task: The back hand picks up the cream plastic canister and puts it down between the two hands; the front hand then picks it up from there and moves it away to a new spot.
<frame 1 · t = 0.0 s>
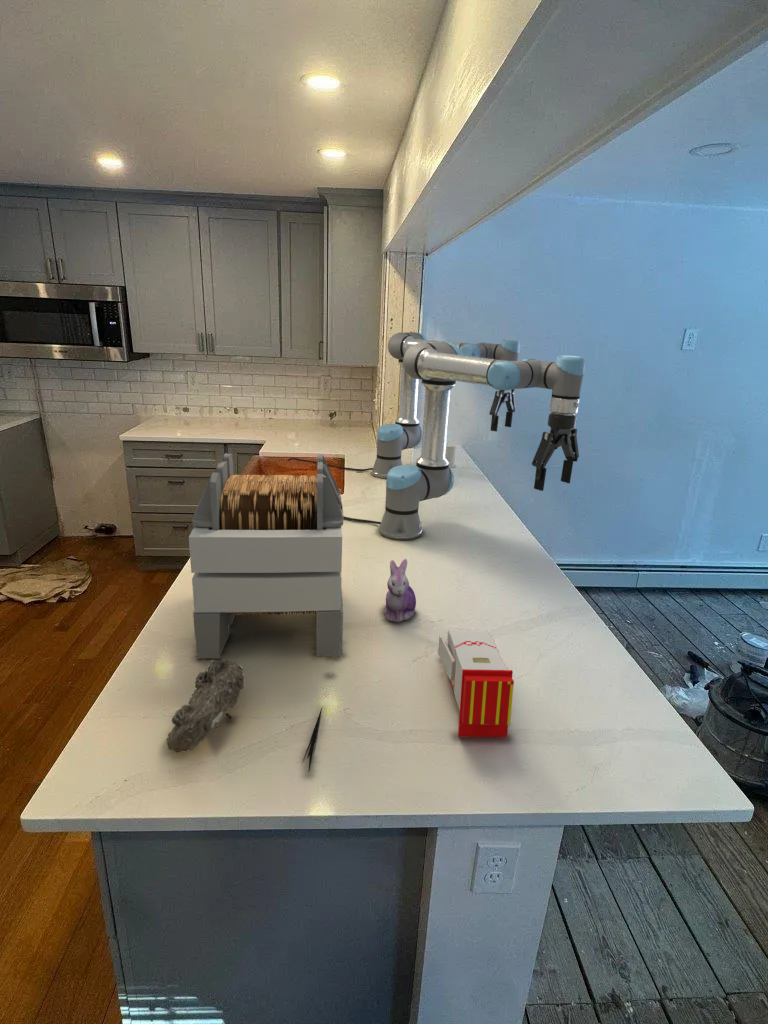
front hand: (552, 485, 166), 28 cm above the counter, tool pointing down, fingers open, 13 cm apart
back hand: (500, 428, 244), 28 cm above the counter, tool pointing down, fingers open, 13 cm apart
transformer: (275, 620, 142), on the counter
canister: (448, 465, 290), on the counter
feather: (319, 719, 109), on the counter
fossil: (212, 717, 108), on the counter
toy: (469, 691, 119), on the counter
figurine: (399, 614, 147), on the counter
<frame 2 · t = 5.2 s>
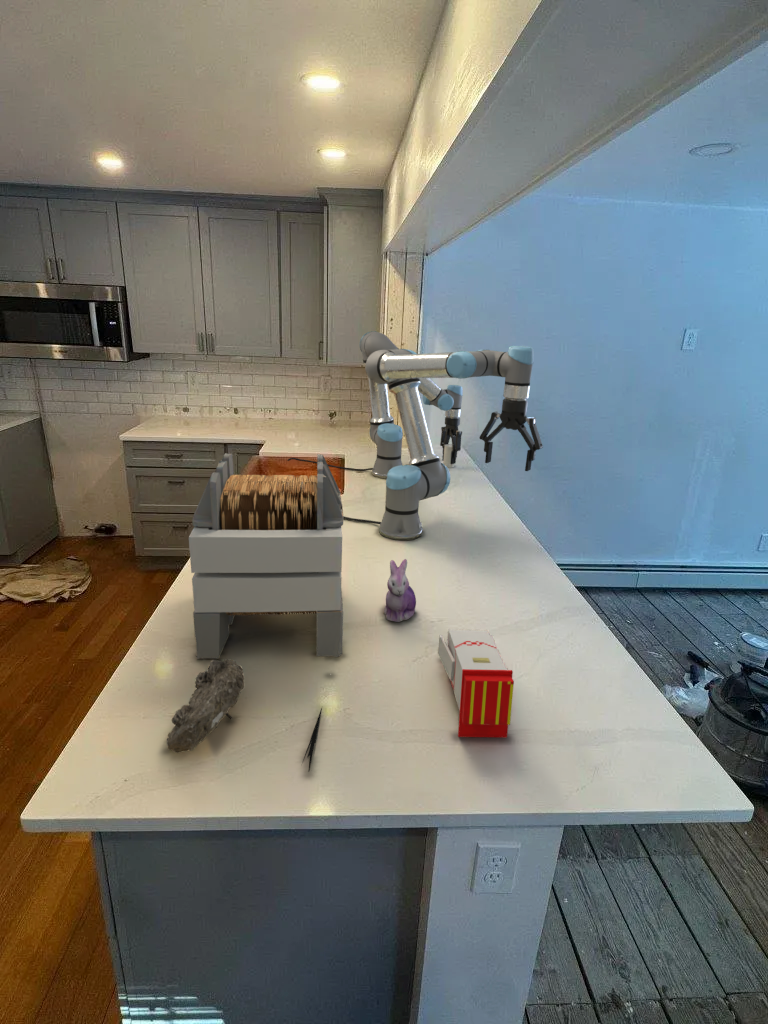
front hand: (507, 466, 180), 29 cm above the counter, tool pointing down, fingers open, 13 cm apart
back hand: (448, 462, 290), 2 cm above the counter, tool pointing down, fingers closed on canister, 6 cm apart
canister: (448, 465, 290), on the counter, touching back hand
everything else where it was.
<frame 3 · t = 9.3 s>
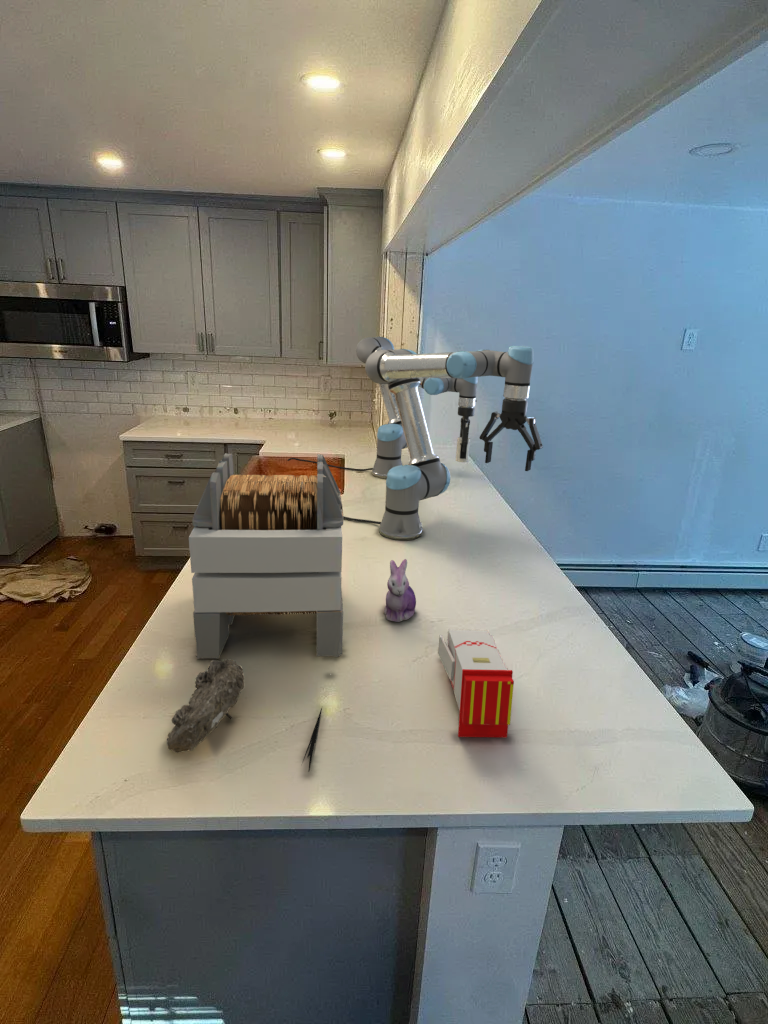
front hand: (507, 466, 180), 29 cm above the counter, tool pointing down, fingers open, 13 cm apart
back hand: (462, 456, 264), 11 cm above the counter, tool pointing down, fingers closed on canister, 6 cm apart
canister: (461, 460, 264), point 9 cm above the counter, touching back hand
everything else where it was.
when the back hand's fingers open (4 cm above the counter, at t = 13.3 s): canister drops 2 cm, on the counter.
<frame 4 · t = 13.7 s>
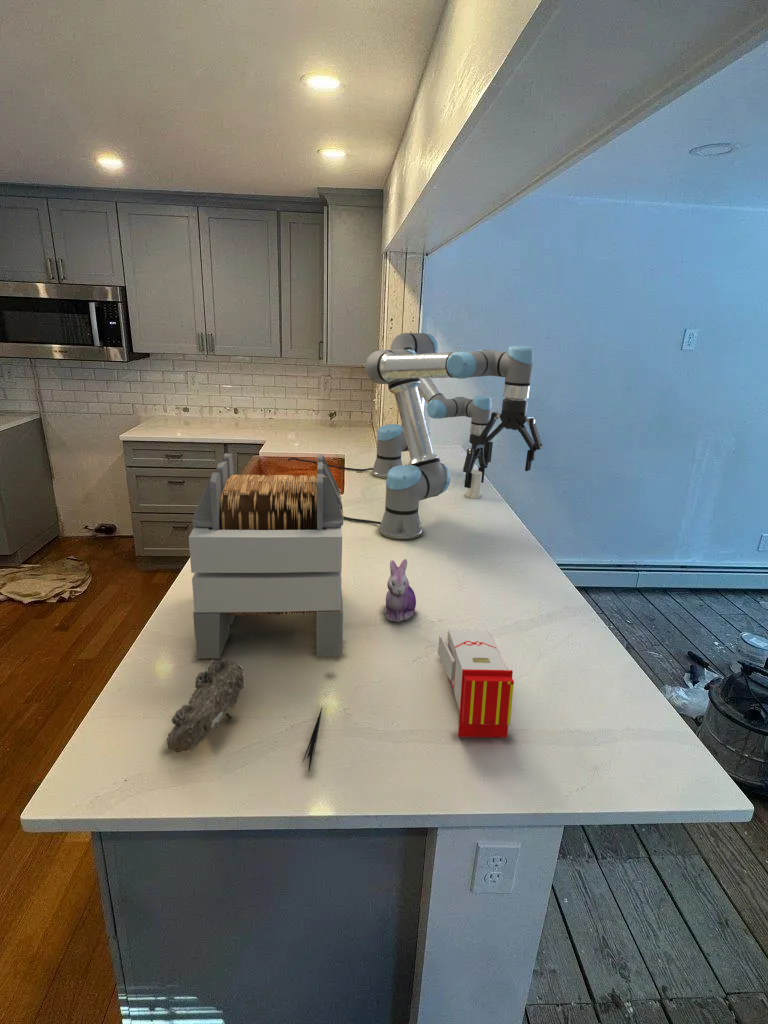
front hand: (507, 466, 180), 29 cm above the counter, tool pointing down, fingers open, 13 cm apart
back hand: (473, 484, 243), 5 cm above the counter, tool pointing down, fingers open, 10 cm apart
canister: (472, 495, 245), on the counter
everything else where it was.
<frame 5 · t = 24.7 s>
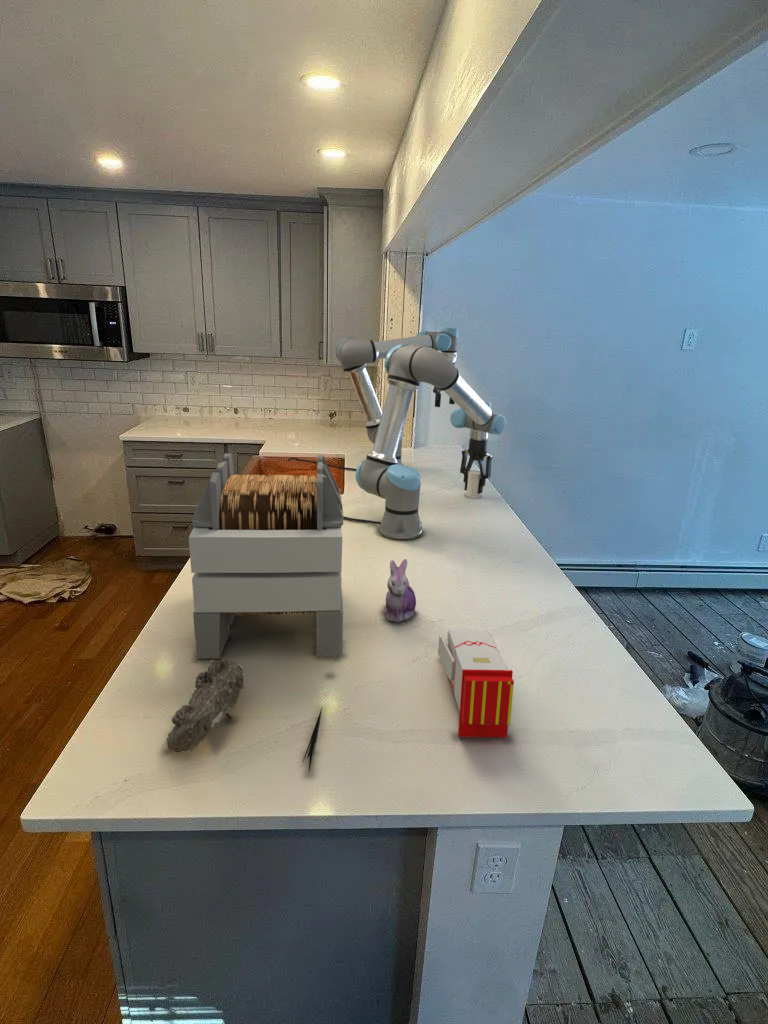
front hand: (473, 491, 244), 2 cm above the counter, tool pointing down, fingers closed on canister, 6 cm apart
back hand: (444, 405, 281), 30 cm above the counter, tool pointing down, fingers open, 13 cm apart
canister: (472, 495, 245), on the counter, touching front hand
everything else where it was.
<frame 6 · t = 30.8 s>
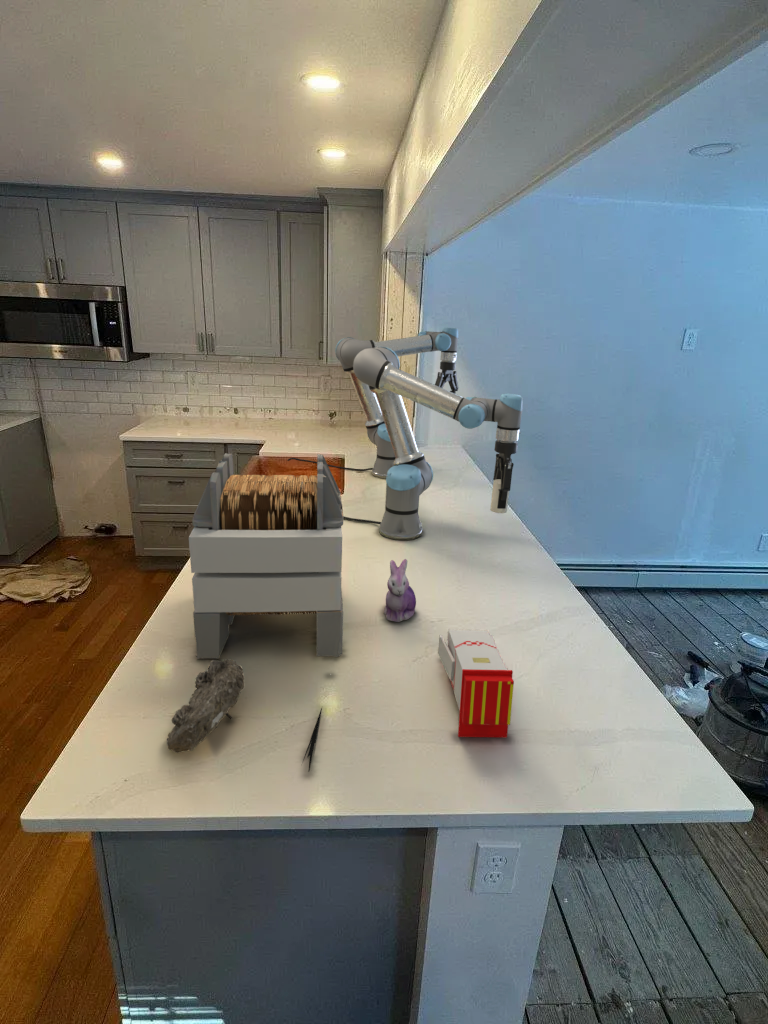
front hand: (499, 505, 200), 11 cm above the counter, tool pointing down, fingers closed on canister, 6 cm apart
back hand: (444, 405, 281), 30 cm above the counter, tool pointing down, fingers open, 13 cm apart
canister: (498, 510, 201), point 9 cm above the counter, touching front hand
everything else where it was.
when the front hand's fingers open (4 cm above the counter, at t = 37.2 s): canister drops 2 cm, on the counter.
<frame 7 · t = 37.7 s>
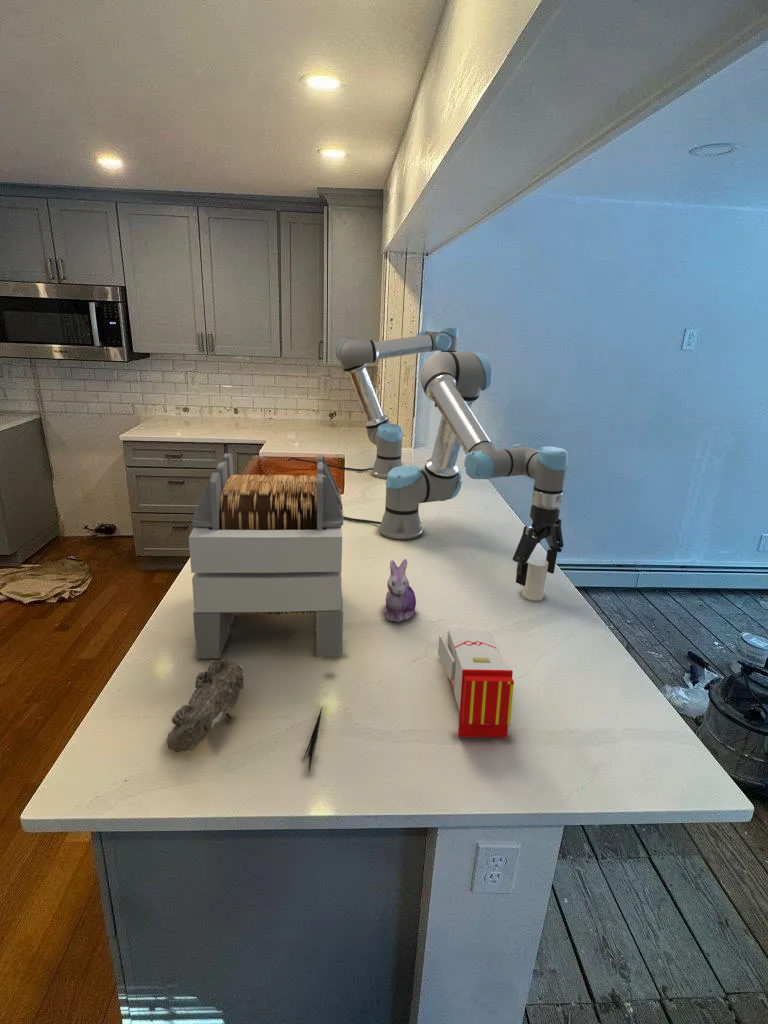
front hand: (535, 577, 158), 6 cm above the counter, tool pointing down, fingers open, 12 cm apart
back hand: (444, 405, 281), 30 cm above the counter, tool pointing down, fingers open, 13 cm apart
canister: (532, 595, 160), on the counter
everything else where it was.
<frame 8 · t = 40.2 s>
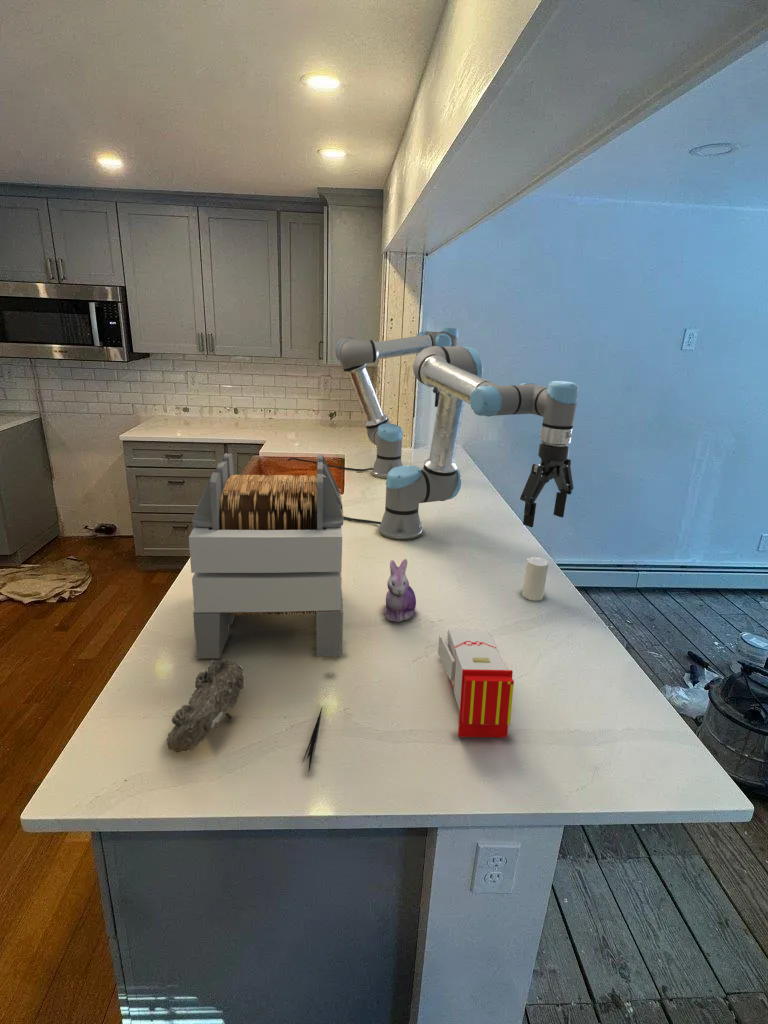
front hand: (543, 520, 153), 23 cm above the counter, tool pointing down, fingers open, 13 cm apart
back hand: (444, 405, 281), 30 cm above the counter, tool pointing down, fingers open, 13 cm apart
nothing on the counter moved.
at the end: canister inside the target area (0.0 cm from its centre), on the counter; canister tilted 0°; the two hands never held the canister at the same time; the front hand is holding nothing; the back hand is holding nothing; canister at rest at the end (0.0 cm/s) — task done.
